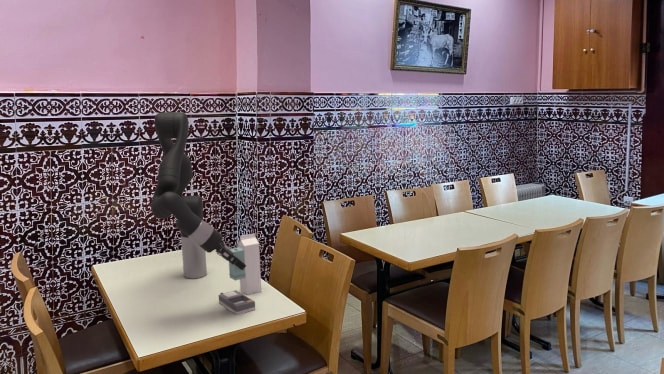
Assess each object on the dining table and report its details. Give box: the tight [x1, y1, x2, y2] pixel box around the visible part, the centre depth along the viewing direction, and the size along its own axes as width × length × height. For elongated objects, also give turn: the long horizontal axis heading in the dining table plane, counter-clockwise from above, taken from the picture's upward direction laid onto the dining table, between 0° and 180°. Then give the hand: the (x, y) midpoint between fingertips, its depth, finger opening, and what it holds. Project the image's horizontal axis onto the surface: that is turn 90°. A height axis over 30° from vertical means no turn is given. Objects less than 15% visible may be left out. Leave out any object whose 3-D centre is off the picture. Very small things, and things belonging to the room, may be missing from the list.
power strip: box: [218, 289, 256, 315], centre depth 197 cm, size 19×7×3 cm, turn 37°
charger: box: [228, 247, 246, 281], centre depth 191 cm, size 4×4×10 cm
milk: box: [237, 232, 262, 296], centre depth 208 cm, size 6×6×22 cm
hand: (242, 265), depth 192 cm, fingers closed on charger, 5 cm apart
